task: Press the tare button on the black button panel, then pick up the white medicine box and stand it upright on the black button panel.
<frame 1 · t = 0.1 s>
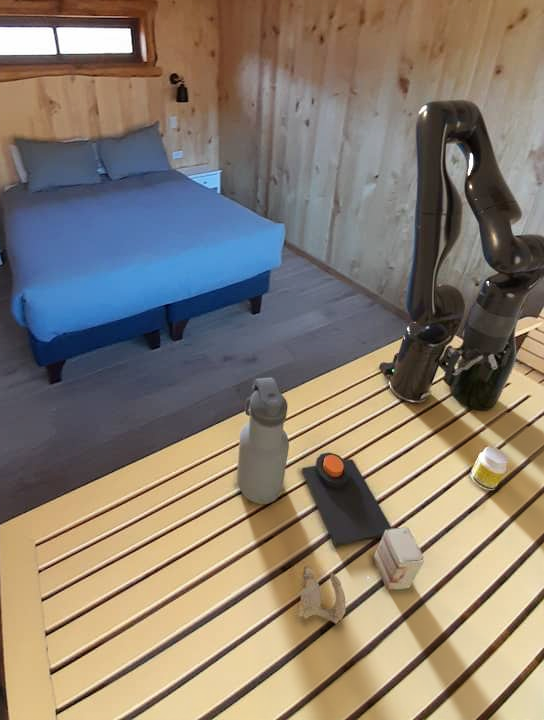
hand: (465, 381, 89), 17 cm above the table, tool pointing down, fingers open, 8 cm apart
water bottle: (258, 482, 87), on the table
supplement bottle: (482, 480, 87), on the table
black button panel: (343, 501, 83), on the table
tare button: (333, 466, 86), point 3 cm above the table, slide at 0.1 cm
beige figurine: (312, 606, 68), on the table
dark green wine bottle: (470, 397, 107), on the table
white medicine box: (390, 573, 72), on the table
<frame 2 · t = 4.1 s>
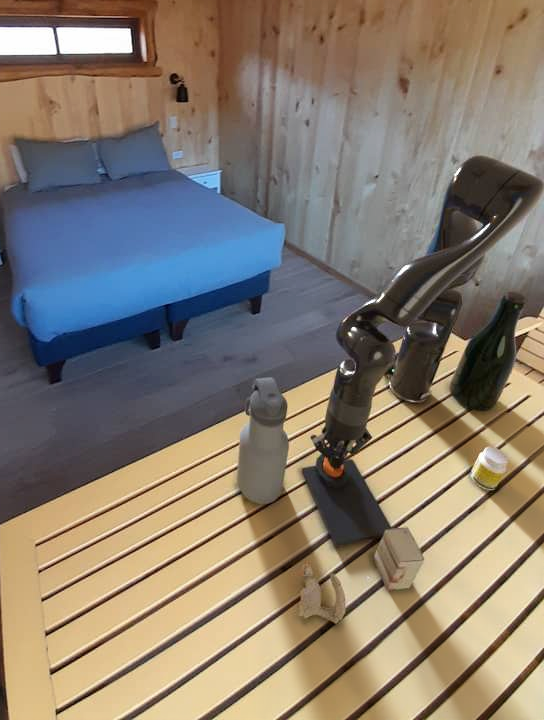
hand: (334, 464, 86), 4 cm above the table, tool pointing down, fingers closed
tare button: (333, 466, 87), point 3 cm above the table, slide at 0.0 cm, touching gripper
everything else where it was.
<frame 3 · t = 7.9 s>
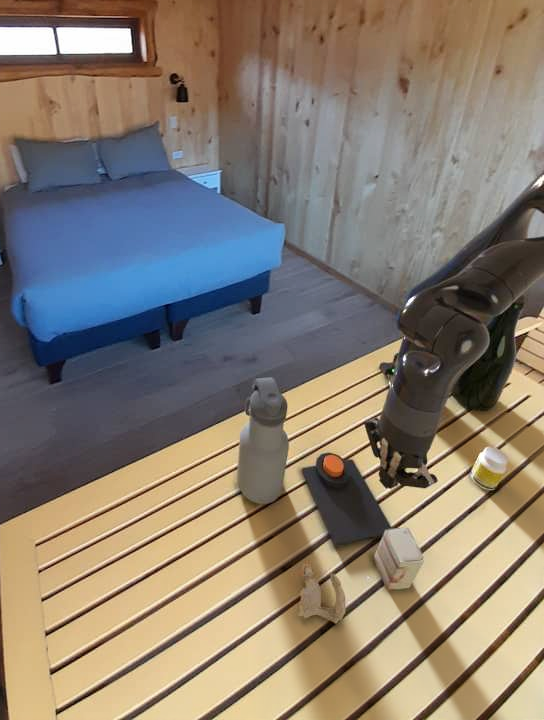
hand: (386, 482, 69), 17 cm above the table, tool pointing down, fingers closed
tare button: (333, 466, 86), point 3 cm above the table, slide at 0.1 cm
everything else where it was.
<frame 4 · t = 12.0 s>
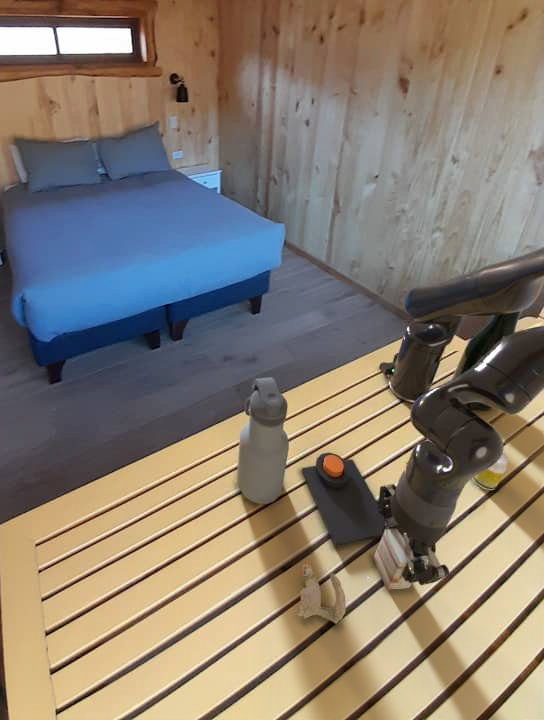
hand: (398, 557, 70), 5 cm above the table, tool pointing down, fingers closed on white medicine box, 5 cm apart
white medicine box: (390, 573, 72), on the table, touching gripper
everything else where it was.
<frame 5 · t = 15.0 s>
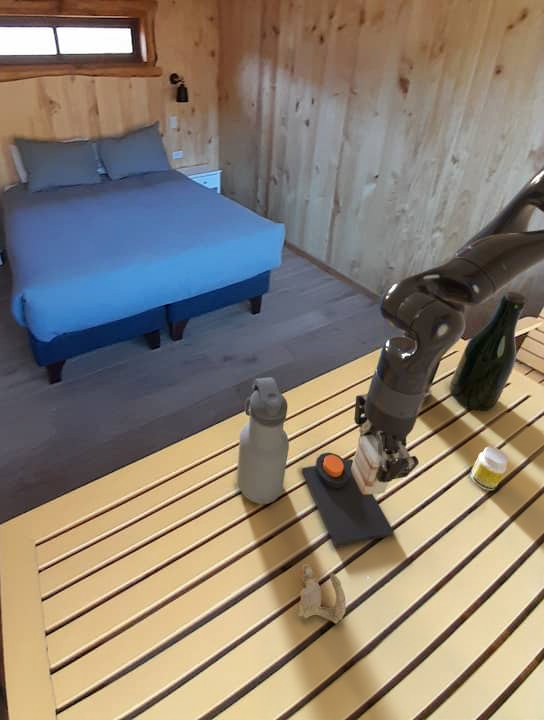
hand: (373, 463, 72), 18 cm above the table, tool pointing down, fingers closed on white medicine box, 5 cm apart
white medicine box: (366, 482, 74), point 12 cm above the table, touching gripper
everything else where it was.
when the fingers open (7 cm above the table, at t = 18.1 s): white medicine box stays where it is, resting on black button panel.
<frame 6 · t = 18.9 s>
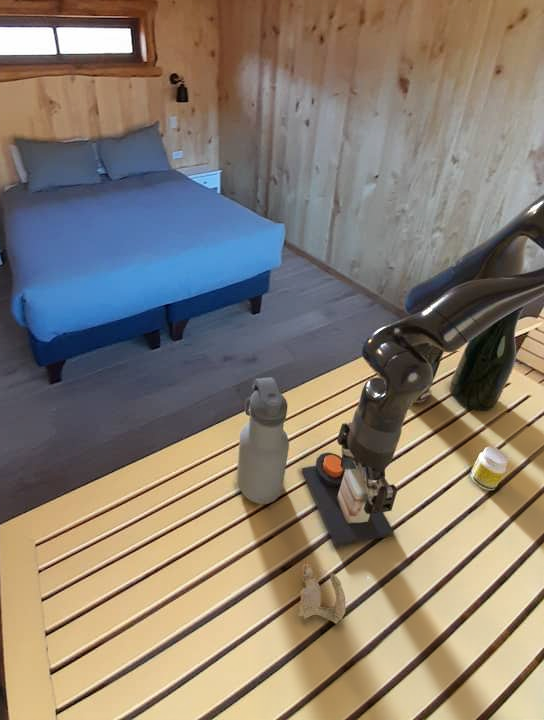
hand: (357, 487, 77), 9 cm above the table, tool pointing down, fingers open, 8 cm apart
white medicine box: (351, 510, 80), point 1 cm above the table, touching black button panel
everything else where it was.
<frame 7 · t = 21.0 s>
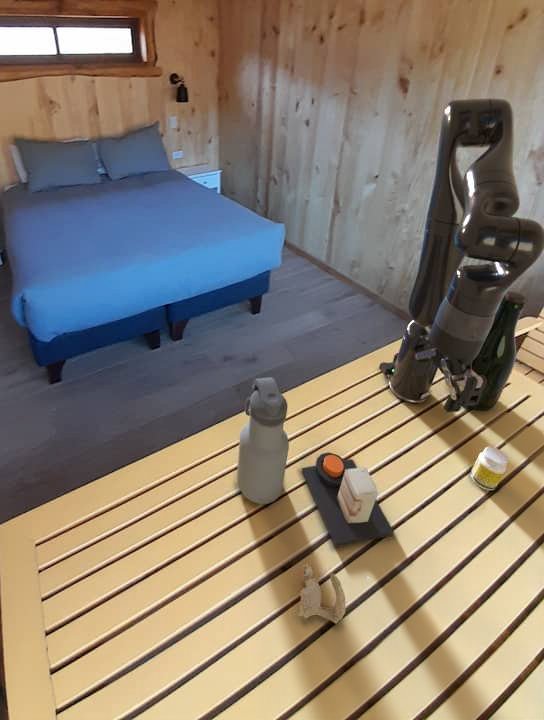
hand: (432, 391, 75), 27 cm above the table, tool pointing down, fingers open, 8 cm apart
nothing on the table moved.
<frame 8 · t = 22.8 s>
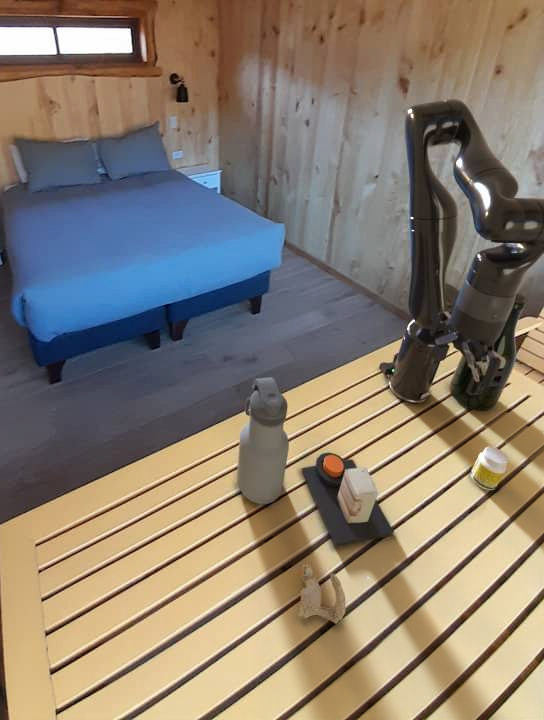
hand: (454, 375, 77), 28 cm above the table, tool pointing down, fingers open, 8 cm apart
nothing on the table moved.
at the end: tare button pushed in 0.9 cm at the most during the clip, back to where it started at the end; white medicine box inside the target area on the black button panel (2.6 cm from its centre), point 1.2 cm above the black button panel's base; white medicine box touching black button panel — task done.
